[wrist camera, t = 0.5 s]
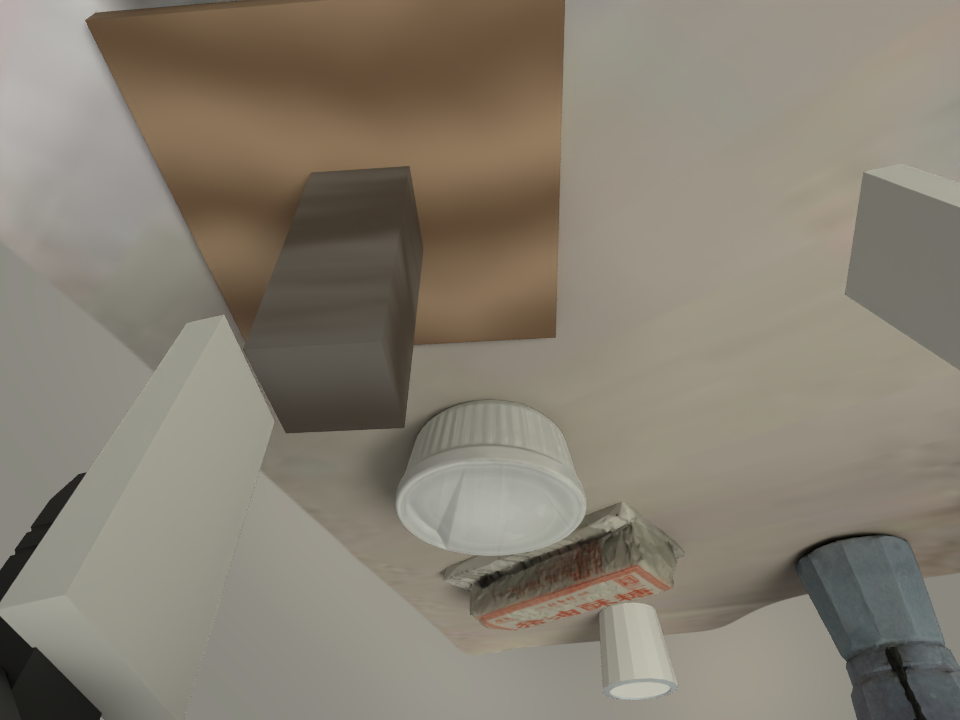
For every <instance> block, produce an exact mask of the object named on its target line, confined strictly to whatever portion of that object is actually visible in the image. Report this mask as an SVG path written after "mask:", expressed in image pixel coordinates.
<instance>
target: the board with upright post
mask: <svg viewBox="0 0 960 720" xmlns="http://www.w3.org/2000/svg"><path fill="white" fill-rule="evenodd" d="M564 17H565V0H243V1H231V2H219V3H207V4H195V5H183V6H171V7H159V8H147V9H135V10H123V11H111V12H99V13H95V14H93V15H92V16H90V17H89V18H88V19H86V20H85V21H86V23H87V25H88V27H89V29H90V31H91V33H92V35H93V37H94V39H95V41H96V43H97V45H98V47H99V49H100V51H101V53H102V55H103V57H104V59H105V61H106V63H107V65H108V67H109V69H110V71H111V73H112V75H113V77H114V79H115V81H116V83H117V85H118V87H119V89H120V91H121V93H122V95H123V97H124V99H125V101H126V103H127V105H128V107H129V109H130V111H131V113H132V115H133V117H134V119H135V121H136V123H137V125H138V127H139V129H140V131H141V133H142V135H143V137H144V139H145V141H146V143H147V145H148V147H149V149H150V151H151V153H152V155H153V157H154V159H155V161H156V163H157V165H158V167H159V169H160V171H161V173H162V175H163V177H164V179H165V181H166V183H167V185H168V187H169V189H170V191H171V193H172V195H173V197H174V199H175V201H176V203H177V205H178V207H179V209H180V211H181V213H182V215H183V217H184V219H185V221H186V223H187V225H188V227H189V229H190V231H191V233H192V235H193V237H194V239H195V241H196V243H197V245H198V247H199V249H200V251H201V253H202V255H203V257H204V259H205V261H206V263H207V265H208V267H209V269H210V271H211V273H212V275H213V277H214V279H215V281H216V283H217V285H218V287H219V289H220V291H221V293H222V295H223V297H224V299H225V301H226V303H227V305H228V307H229V309H230V311H231V313H232V315H233V317H234V319H235V321H236V323H237V325H238V327H239V329H240V331H241V333H242V335H243V337H244V339H245V341H246V343H245V346H244V349H243V350H244V352H245V354H246V356H247V358H248V360H249V362H250V364H251V366H252V368H253V369H254V371H255V373H256V375H257V377H258V379H259V381H260V383H261V385H262V387H263V389H264V391H265V393H266V395H267V397H268V399H269V401H270V403H271V405H272V407H273V409H274V411H275V413H276V415H277V416H278V418H279V420H280V422H281V424H282V426H283V428H284V430H285V432H286V433H301V432H323V431H345V430H367V429H389V428H404V427H405V418H406V409H407V399H408V390H409V381H410V371H411V362H412V352H413V345H422V344H441V343H460V342H479V341H498V340H517V339H536V338H555V337H556V303H557V268H558V232H559V196H560V160H561V124H562V89H563V53H564Z"/></svg>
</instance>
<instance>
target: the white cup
mask: <svg viewBox="0 0 960 720" xmlns="http://www.w3.org/2000/svg"><path fill="white" fill-rule="evenodd" d="M599 625H600V644H601V664H602V684H603V694H605V695H606V696H608V697H612V698H616V699H624V700H641V699H642V700H643V699H651V698H658V697H662V696H665V695H669V694H671V693H673V692H674V691H676V690H677V688H678V684H677V681H676V677H675V674H674V671H673V667H672V664H671V661H670V657H669V654H668V650H667V647H666V644H665V640H664V637H663V633H662V630H661V627H660V623H659V620H658V617H657V613H656V610H655V609H654V608H653V607H652V606H649V605H646V604H641V603H622V604H617V605H613V606H610V607H607V608H605V609H603V610H602V611H601V612H600V613H599Z"/></svg>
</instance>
